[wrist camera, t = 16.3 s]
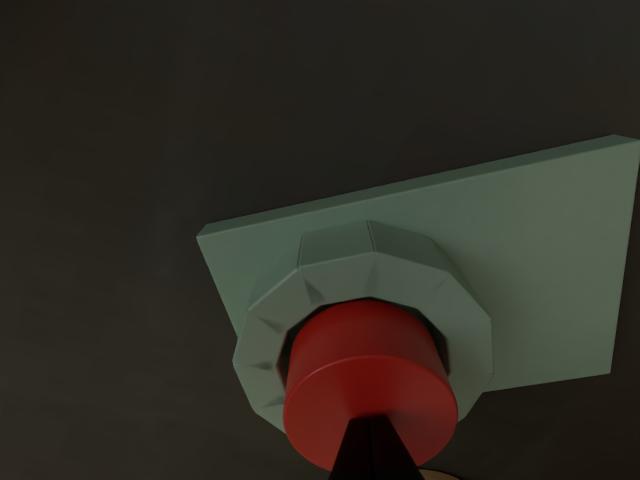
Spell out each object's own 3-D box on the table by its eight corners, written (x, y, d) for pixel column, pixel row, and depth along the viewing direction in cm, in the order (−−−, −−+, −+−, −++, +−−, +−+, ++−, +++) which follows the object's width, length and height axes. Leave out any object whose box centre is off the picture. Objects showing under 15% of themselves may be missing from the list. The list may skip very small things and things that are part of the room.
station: (614, 133, 10) (725, 156, 7) (591, 353, 13) (660, 427, 10) (205, 223, 11) (165, 272, 8) (276, 402, 14) (265, 478, 12)
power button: (426, 285, 9) (451, 341, 7) (440, 397, 11) (465, 467, 9) (273, 314, 9) (259, 373, 8) (309, 417, 11) (306, 487, 9)
